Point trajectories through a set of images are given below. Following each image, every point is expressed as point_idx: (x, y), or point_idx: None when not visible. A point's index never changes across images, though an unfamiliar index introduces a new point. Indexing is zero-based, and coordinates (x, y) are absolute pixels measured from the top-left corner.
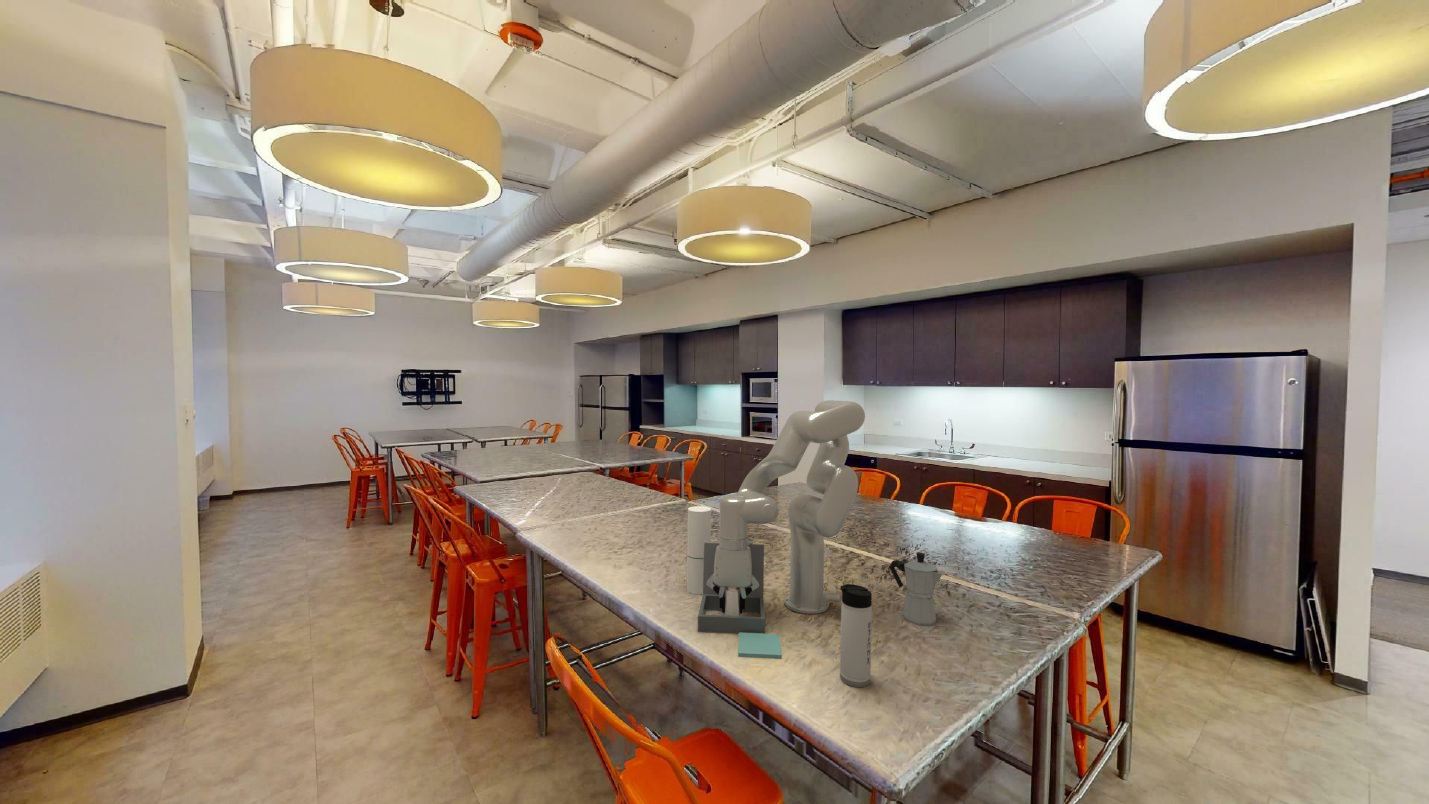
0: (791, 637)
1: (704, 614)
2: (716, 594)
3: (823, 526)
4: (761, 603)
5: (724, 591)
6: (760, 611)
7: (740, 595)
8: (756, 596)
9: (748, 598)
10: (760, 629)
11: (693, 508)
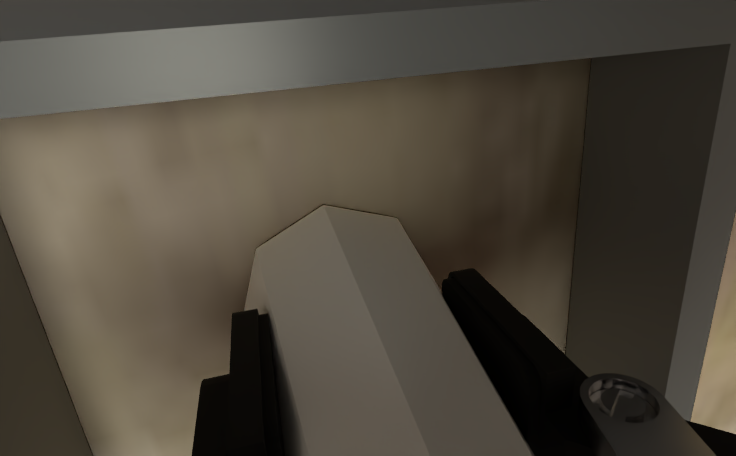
0: (726, 389)
1: (20, 321)
2: (4, 37)
3: None
4: (710, 223)
5: (167, 15)
6: (650, 331)
7: (537, 398)
8: (697, 2)
9: (573, 56)
10: None
11: None
